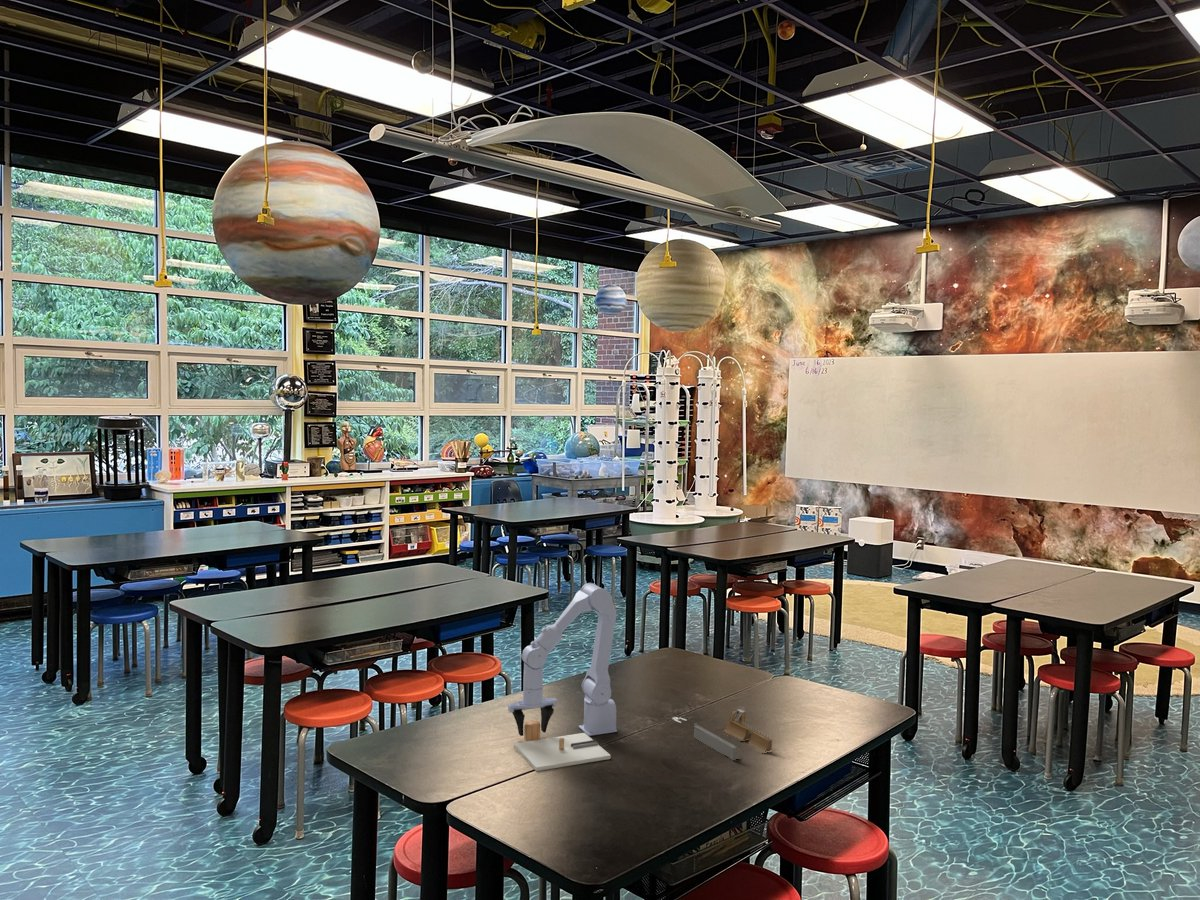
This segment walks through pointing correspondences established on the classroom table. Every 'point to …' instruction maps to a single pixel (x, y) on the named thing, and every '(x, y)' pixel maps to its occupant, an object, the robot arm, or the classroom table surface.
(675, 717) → the paper
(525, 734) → the wire nut
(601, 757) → the plate
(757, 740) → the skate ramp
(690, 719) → the classroom table surface
